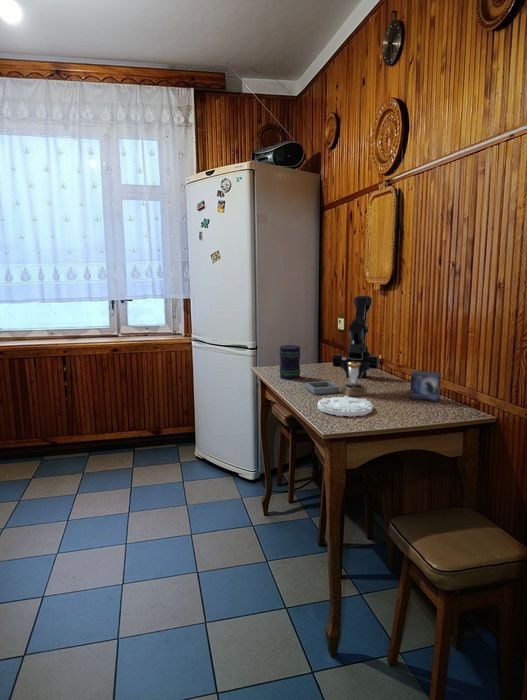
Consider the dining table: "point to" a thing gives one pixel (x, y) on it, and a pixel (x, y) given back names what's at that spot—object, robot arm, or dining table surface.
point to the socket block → (353, 390)
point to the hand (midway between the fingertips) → (353, 378)
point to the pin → (353, 374)
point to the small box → (425, 386)
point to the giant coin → (345, 406)
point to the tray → (321, 387)
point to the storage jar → (289, 362)
